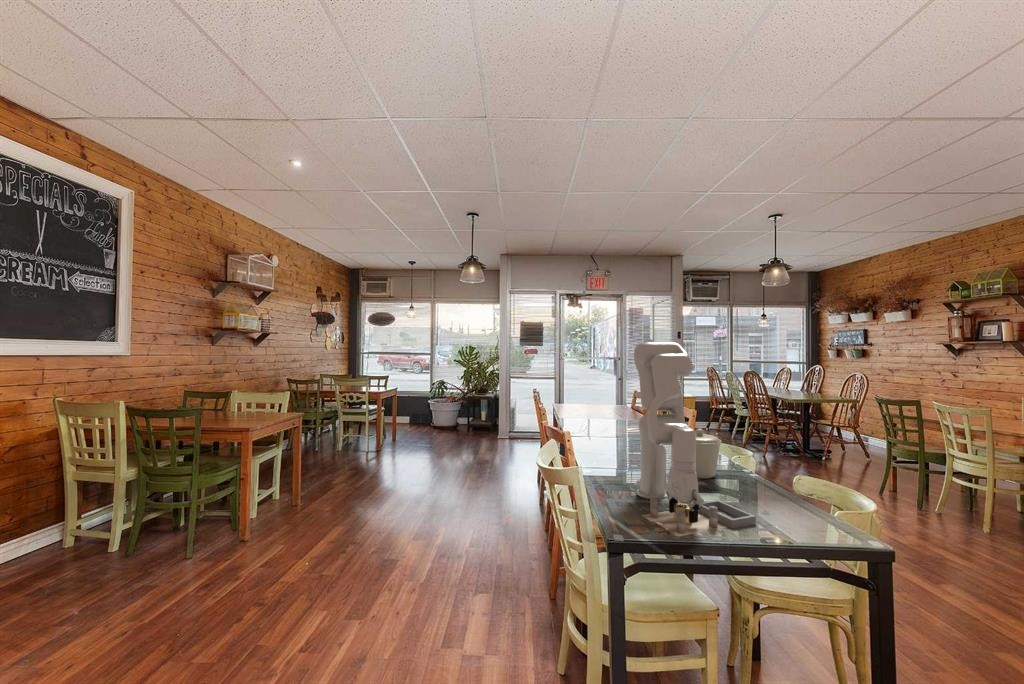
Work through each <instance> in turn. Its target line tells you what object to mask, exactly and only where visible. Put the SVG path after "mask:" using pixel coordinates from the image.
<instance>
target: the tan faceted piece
mask: <svg viewBox="0 0 1024 684" xmlns="http://www.w3.org/2000/svg"><path fill="white" fill-rule="evenodd" d="M689 510H690V507H689V505H688V504H683V503H681V502H678V504H674V520H675V522H676V523H677V511H682V512H685V525H687V524H692V523H689Z"/></svg>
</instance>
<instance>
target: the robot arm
mask: <svg viewBox="0 0 1024 684" xmlns="http://www.w3.org/2000/svg"><path fill="white" fill-rule="evenodd" d="M633 359H634V360H633V361H634V364H635V367H636V370H637V373H638V378H639V393H640V401H641V402H640V403H641V406H642V408H643V410H646V411H647V413H646V414H644V415H643V416H641V417H640V418H639V420H638V431H639V438H640V478H639V479H637V480H636V483H637V484H638V485H639V488H637V489H636V495H638V496H639V497H640V498H643V499H647V500H650V498H657V499H658V500H662V499H667V500H668V511H669V512H670V513H673V512H674V504H678V503H679V502H680V503H681V502H683V503H688V505H689V507H690V510H689V523H696V522H698V513H699V512H698V510H700V508H701V507H702V505H703V503H704V502H705V501H704V499H703V498H702V496H701V495H700V493H699V481H698V478H697V473H696V472H695V471H696V432H695V431H696V430H694V429H693V428H691V427H690V426H689V425H688V424H686V419H685V407H684V399H683V398H684V397H683V394H682V392H681V389H680V383H679V377H688V376H690V375H691V374H692V371H693V362H692V359H691V357H690V355H689V354H688V353H687V351H686V350H685V349H684V348H683V347H682V346H681V344H679V343H677V342H674V341H673V342H671V341H669V342H665V341H664V342H662V341H661V342H659V341H647V342H641V343H638V344H637V345H636V346H635V347H634V351H633ZM666 411H667V412H668V414H665V413H664V414H662V413H661V414H658V412H666ZM665 446H671V459H670V460H671V466H670V467H669V472H668V478H667V450H666V448H665Z"/></svg>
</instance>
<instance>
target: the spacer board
mask: <svg viewBox="0 0 1024 684" xmlns="http://www.w3.org/2000/svg"><path fill="white" fill-rule="evenodd" d="M649 500H650V502H649V505H650V507H649V508H650V510H649V513H647V514H646V513H645V514H642V515H640V516H641V517H643V518H645V519H647V520H648V521H649V522H651V523H653V522H652V521H654V522H660V523H662V524H663V526H666V527H668V529H669V531H670V532H669V533H670V534H672V535H673V534H674V536H675V537H677V536H678V537H677V538H679V537H684V536H690V535H694V534H695V535H696V534H700V533H701V534H702V533H705V532H711V531H716V530H722V529H727V528H728V527H729V526H727V525H725V524H722V523H720V522H718V512H719V511H718V508H717V507H715V506H709V517H708V516H706V515H704V514H702V513H700V512H698V522H696V523H692V524H687V525H685V512H682V511H677V523H676V522H675V520H674V512H673V513H670V512H669V510H665V511H660V512H659V499H657V498H650V499H649ZM680 503H683V502H681V501H680ZM683 504H688V503H683Z"/></svg>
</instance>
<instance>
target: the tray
mask: <svg viewBox="0 0 1024 684" xmlns="http://www.w3.org/2000/svg"><path fill="white" fill-rule="evenodd" d="M709 506H715V507H717V508H718V509H719V510H721V511H723V512H725V513H728V514H729V515H732V516H734V517H735V518H731V517H729V516H727V515H726V514H725V515H724V514H723V513H721V512H719V511H718V523H720V524H722V525H724V526H726V527H729V528H731V529H736V528H741V527H746V526H752V525H754V526H756V525H757V524H756V522H757V519H756V518H757V517H756V515H754V514H751V513H749V512H747V511H745V510H743V509H740V508H738V507H735V506H733V505H730V504H728V503H727V502H723V501H721V500H719V499H717V500H716V499H715V500H709V501H704V503H703V505H702V507H701V508H700V510H698V513H699V514H701V515H703V516H705V517H707V518H709Z"/></svg>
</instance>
